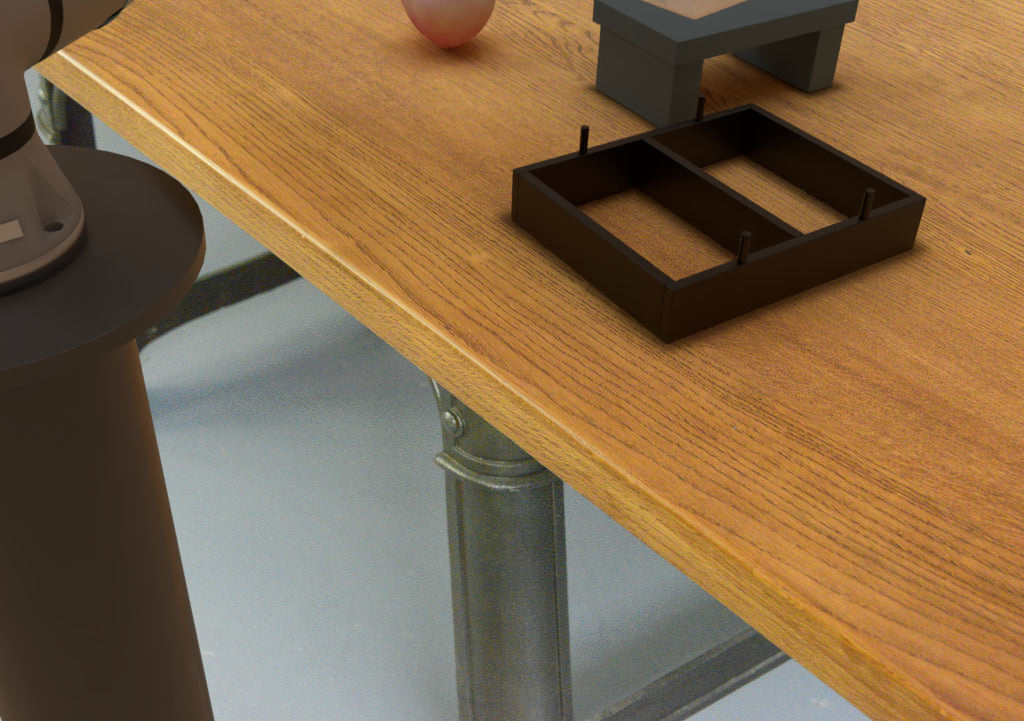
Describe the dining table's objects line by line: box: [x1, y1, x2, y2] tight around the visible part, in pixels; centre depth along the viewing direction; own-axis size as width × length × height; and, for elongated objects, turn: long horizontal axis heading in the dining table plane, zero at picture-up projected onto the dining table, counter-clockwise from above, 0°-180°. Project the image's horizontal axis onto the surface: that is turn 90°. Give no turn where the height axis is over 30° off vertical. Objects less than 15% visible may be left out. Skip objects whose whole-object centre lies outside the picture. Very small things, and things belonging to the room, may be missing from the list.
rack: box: [510, 93, 928, 345], centre depth 80 cm, size 18×22×6 cm
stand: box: [591, 0, 860, 128], centre depth 99 cm, size 11×20×8 cm, turn 123°
